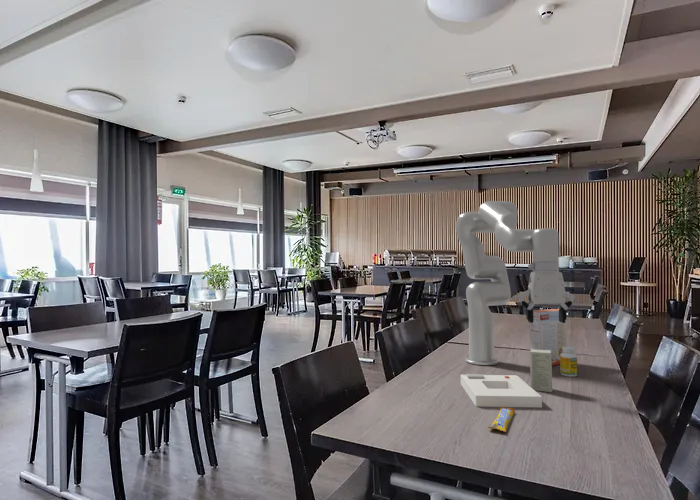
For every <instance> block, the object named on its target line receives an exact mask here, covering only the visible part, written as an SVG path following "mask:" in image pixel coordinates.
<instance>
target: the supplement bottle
mask: <svg viewBox="0 0 700 500" xmlns="http://www.w3.org/2000/svg"><path fill="white" fill-rule="evenodd" d="M562 351H563V353H561V354H560V364H559V367H560V368H559V369H560V370H559V371H560V374H561V376H564V377H571V378H573V377H577V376H578V356H577V354H576V353H575V352H576V348H575V347H573V346H566V347H562Z"/></svg>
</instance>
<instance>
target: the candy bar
mask: <svg viewBox="0 0 700 500" xmlns="http://www.w3.org/2000/svg"><path fill="white" fill-rule="evenodd" d="M499 410H500V411H499V413H498V414H497V416H496V418H495V419H494V420H493V422H492V424H491V425H490V426H488V427H487V429H490V430H491V431H492V430H495V429H496V430H495V431H499V432H502V431H503V432H504V433H506V432H507V430H508V427H509V425H510V423H511V421H512V419H513V417H514V415H515V413H516V410H515V409H514V408H513V407H506V408H505V407H499Z"/></svg>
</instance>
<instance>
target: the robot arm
mask: <svg viewBox="0 0 700 500" xmlns="http://www.w3.org/2000/svg"><path fill="white" fill-rule="evenodd" d="M518 210H519V209H518V207H517V206H516V204H515V203H513V202H511V201H507V200H488V201H485V202H483V203H481V204H480V206H479V207H478V210H477V211H466V212H462V213H461V214H460V215H459V216H458V217H457V219H456V224H455V231H456V235H457V238H458V241H459V243H460V246H461V250H462V256H463V262H464V267H465V271H466V276H467V277H468V278H469V279H472V280H490V281H475V282H472V283H471V282H470V283H469V285H468V286H467V287H466V289H465V290H466V291H465V296H466V297H465V298H466V301H467V308H468V309H467V310H468V356H465V357H464V361H465V362H466V363H468V364H471V365H477V366H493V365H497V364H499V359H498V358H496V357H495V321H494V320H495V319H494V315H493V313H492V311H491V310H490V308H489V307H490V306H504V305H507V304H508V303H509V302H510V301H511V296H512V293H511V286H510V281H509V275H508V270H507V266H506V263H505V261H504V260H503V259H502V258H501V257H500V256H498V255H497V256H496V255H487V254H486V251H485V247H484V244H483V242H482V241H481V239H480V238H479V237H478V236H477V235H476V234H484V233H485V234H494V237H495V241H496V243H498V244H499V246H501V247H502V248H503V249H505V250H506V251H508V252H512V253H532V262H531V263H528V266H527V267H528V269H531V270H532V271H531V272H530V273H529V274H530V275H529V279H528V289H527V290H525V291H524V292H521V293H520V294H517V299H518V301H519V302H520V305H521V306H523V308H525V309H526V315H525V316H526V320H527V322H528V323H529V322H530V323H533V311H534V310H533V308H534V307H535V306H536V305H558V307H559V322H562V323H565V320H566V321H567V311H568V310H569V308H570V307H571V306H573V302H574V300H575V298H576V296H575V295H574V294H572V293H571V292H568V291H566V287H565V282H564V276H563V272H560V265H559V264H560V263H559V262H560V259H559V258H560V257H559V256H560V255H559V254H560V253H559V247H560V246H559V231H558V230H557V229H556V228H552V227H550V228H549V227H548V228H545V227H544V228H536V229H531V228H530V229H528V228H527V229H526V228H525V229H524V228H517V225H518V215H519V211H518ZM525 297H528V298H527V299H528V302H526V300H525ZM566 297H567V299H566Z"/></svg>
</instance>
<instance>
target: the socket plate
mask: <svg viewBox="0 0 700 500" xmlns="http://www.w3.org/2000/svg"><path fill="white" fill-rule="evenodd" d="M460 385H461V386H462V388H463V390H464V391H465V393H466V394H467V395H468V397H469V399H470V400H471V401H472V403H473V405H474V406H475V407H478V408H480V407H488V408H489V407H490V408H500V407H504V408H543V397H542V395H540V394H539V393H538V391H536V390H533V389H532V388H531V385H528V383H527V382H525V380H523V379H522V378H521V377H519V376H518V375H514V374H513V375H512V374H510V375H509V374H508V375H506V374H498V375H497V374H482V373H466V374H460Z"/></svg>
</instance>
